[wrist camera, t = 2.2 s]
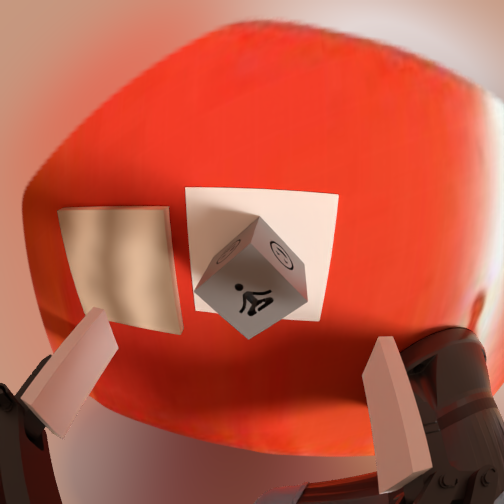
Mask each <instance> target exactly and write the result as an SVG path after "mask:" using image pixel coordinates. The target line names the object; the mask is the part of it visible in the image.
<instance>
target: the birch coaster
mask: <svg viewBox="0 0 504 504" xmlns="http://www.w3.org/2000/svg"><path fill="white" fill-rule="evenodd" d="M57 213H58V218H59V224H60V229H61V233H62V238H63V242H64V247H65V251H66V255H67V259H68V262H69V266H70V270H71V273H72V277H73V280H74V283H75V286H76V290H77V293H78V296H79V299H80V302H81V305H82V307H83V310H84V313H85V315H87V314H88V313H89V311H90V310H91V309H92V308H93V307H96V308H100V309H104V310H105V312H106V315H107V318H108V321H112V322H117V323H121V324H126V325H130V326H135V327H140V328H145V329H150V330H155V331H161V332H166V333H172V334H178V335H181V333H182V331H183V329H184V326H183V320H182V314H181V308H180V301H179V294H178V287H177V280H176V273H175V265H174V256H173V247H172V237H171V227H170V216H169V206H98V207H65V208H62V209H60V210H57Z"/></svg>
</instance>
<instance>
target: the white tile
mask: <svg viewBox="0 0 504 504" xmlns="http://www.w3.org/2000/svg"><path fill="white" fill-rule="evenodd" d="M185 192H186V211H187V226H188V240H189V252H190V263H191V274H192V284H193V293H194V302H195V310H196V311H203V312H212V313H217V312H216V311H215V310H214V309H212V308H211V307H210V306H209V305H208V304H207V303H206V302H205V301H203V300H202V299H201V298H200V297H199V296H198V295H197V294H196V293H195V292H194V290H195V288H196V286H197V284H198V283H199V281H200V279H201V277H202V276H203V274H204V272H205V270H206V269H207V267H208V265H209V263H210V262H211V260H212V258H213V257H214V256H215V255H216V254H217V253H218V252H219V251H221V250H222V249H223V248H224V247H225V246H226V245H227V244H228V243H230V242H231V241H232V240H233V239H234V238H235V237H236V236H238V235H239V234H240V233H241V232H242V231H243V230H244V229H246V228H247V227H248V226H249V225H250V224H251V223H252V222H254V221H255V220H256V219H257V218H258V217H259V216H260V217H261V218H262V219H263V220H264V221H265V222H266V223H267V224H268V225H269V226H270V227H271V229H272V230H273V231H274V232H275V233H276V234H277V235H278V236H279V237H280V238H281V239H282V240H283V241H284V242H285V243H286V245H287V246H288V247H289V248H290V249H291V250H292V251H293V252H294V253H295V254H296V255H297V256H298V257H299V259H300V260H301V261H302V262H303V263H304V264H305V274H306V285H307V296H308V302H307V303H305V304H304V305H302V306H301V307H299V308H298V309H296V310H295V311H293V312H292V313H290V314H289V315H287V316H286V317H284V318H282V319H288V320H304V321H320V316H321V311H322V306H323V300H324V295H325V289H326V284H327V278H328V272H329V266H330V259H331V253H332V246H333V238H334V231H335V223H336V215H337V206H338V197H339V194H329V193H318V192H305V191H291V190H274V189H253V188H222V187H185Z"/></svg>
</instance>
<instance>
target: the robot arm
mask: <svg viewBox="0 0 504 504" xmlns="http://www.w3.org/2000/svg"><path fill="white" fill-rule="evenodd" d="M117 350H118V345H117V343H116V340H115V337H114V335H113V332H112V329H111V327H110V324H109V321H108V318H107V315H106V312H105V310H104V309H100V308H96V307H93V308H92V309H91V310H90V311H89V313H88V314H87V315H86V316H85V317H84V318H83V319H82V320H81V322H80V323H79V324H78V325H77V326H76V327H75V329H74V330H73V331H72V332H71V333H70V334H69V336H68V337H67V338H66V339H65V340H64V342H63V343H62V344H61V345H60V347H59V348H58V349H57V350H56V351H55V353H54V354H53V355H49V356H47V357H46V358H44V359H43V360H42V361H41V362H40V363H39V365H38V366H37V368H36V369H35V370H34V371H33V372H32V375H30V376H29V378H28V379H27V380H26V382H25V383H24V384H23V386H22V387H21V388H20V390H19V391H18V392H17V394H16V395H15V396H14V395H13V394H12V393H11V391H10V390H9V389H8V388H7V386H6V385H5V384H3V383H0V504H62V501H61V498H60V494H59V491H58V487H57V484H56V480H55V476H54V472H53V467H52V463H51V458H50V453H49V447H48V441H47V434H46V432H45V430H44V428H45V427H47V428H48V429H49V430H50V431H51V432H52V433H53V434H55V435H57V436H58V437H60V438H62V439H63V438H64V437H65V435H66V433H67V431H68V430H69V428H70V426H71V424H72V423H73V421H74V419H75V417H76V416H77V414H78V412H79V411H80V409H81V407H82V406H83V404H84V402H85V400H86V399H87V397H88V396H89V394H90V392H91V391H92V389H93V387H94V386H95V384H96V382H97V381H98V379H99V378H100V376H101V374H102V373H103V371H104V370H105V368H106V367H107V365H108V363H109V362H110V360H111V359H112V357H113V356H114V354H115V353H116V351H117ZM362 379H363V384H364V389H365V394H366V399H367V405H368V410H369V416H370V422H371V428H372V435H373V442H374V449H375V457H376V466H377V471H376V472H373V473H368V474H364V475H359V476H354V477H349V478H344V479H338V480H331V481H325V482H317V483H309V482H306V483H303V484H302V485H294V486H285V487H276V488H273V489H270V490H268V491H266V492H265V493H263V494H262V495H261V496H260V497H259V498H258V499H257V500H256V501H255V503H254V504H504V422H503V419H502V416H501V414H500V412H499V410H498V407H497V405H496V403H495V401H494V398H493V396H492V393H491V387H490V380H489V375H488V370H487V366H486V353H485V350H484V347H483V345H482V344H481V342H480V341H479V339H478V338H477V336H476V335H475V334H474V333H473V332H472V331H470V330H468V329H463V328H454V329H448V330H444V331H441V332H438V333H435V334H432V335H430V336H428V337H426V338H424V339H422V340H420V341H418V342H416V343H415V344H413V345H411V346H410V347H408V348H407V349H405V350H404V351H403V352H401V353H399V351H398V348H397V345H396V343H395V340H394V338H393V336H379V337H378V338H377V341H376V343H375V346H374V348H373V351H372V353H371V356H370V358H369V360H368V363H367V365H366V367H365V369H364V372H363V374H362Z"/></svg>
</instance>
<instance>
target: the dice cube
mask: <svg viewBox="0 0 504 504" xmlns="http://www.w3.org/2000/svg"><path fill="white" fill-rule="evenodd" d="M194 292H195V293H196V294H197V295H198V296H199V297H200V298H201V299H202V300H203V301H205V302H206V303H207V304H208V305H209V306H210V307H211V308H212V309H214V310H215V311H216V312H217V313H218V314H219V315H220V316H221V317H223V318H224V319H225V320H226V321H227V322H228V323H230V324H231V325H232V326H233V327H234V328H235V329H237V330H238V331H239V332H240V333H241V334H243V335H244V336H245V337H246V338H247V339H248V340H249V339H250V338H252V337H254V336H255V335H257V334H259V333H260V332H262V331H264V330H265V329H267V328H268V327H270V326H271V325H273V324H275V323H276V322H278V321H279V320H281V319H282V318H284V317H286V316H287V315H289V314H290V313H292V312H293V311H295V310H296V309H298V308H299V307H301V306H302V305H304V304H305V303H307V302H308V296H307V285H306V274H305V264H304V263H303V262H302V261H301V260H300V259H299V257H298V256H297V255H296V254H295V253H294V252H293V251H292V250H291V249H290V248H289V247H288V246H287V245H286V243H285V242H284V241H283V240H282V239H281V238H280V237H279V236H278V235H277V234H276V233H275V232H274V231H273V230H272V229H271V227H270V226H269V225H268V224H267V223H266V222H265V221H264V220H263V219H262V218H261V217H260V216H259V217H258V218H257V219H256V220H255V221H254V222H252V223H251V224H250V225H249V226H248V227H247V228H246V229H244V230H243V231H242V232H241V233H240V234H239V235H238V236H236V237H235V238H234V239H233V240H232V241H231V242H230V243H228V244H227V245H226V246H225V247H224V248H223V249H222V250H221V251H219V252H218V253H217V254H216V255H215V256H214V257H213V258H212V260H211V262H210V263H209V265H208V267H207V269H206V270H205V272H204V274H203V276H202V277H201V279H200V281H199V283H198V284H197V286H196V288H195V290H194Z"/></svg>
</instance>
